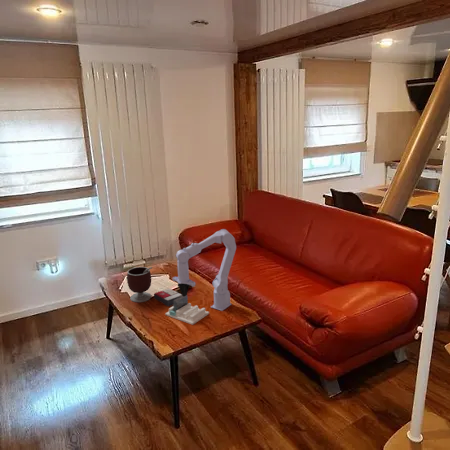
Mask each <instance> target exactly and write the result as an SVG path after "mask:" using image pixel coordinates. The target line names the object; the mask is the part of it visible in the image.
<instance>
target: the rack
mask: <svg viewBox="0 0 450 450" xmlns="http://www.w3.org/2000/svg"><path fill="white" fill-rule="evenodd" d="M209 314H210V311H206V307H202V308H199V306H198V305H197V304H196V305H194V306H193V305H192V303H190V302H189V303H188V304H187V305H185V306H183V307H182V308H180V309H178V310H177V311H176V313H175V312H174V309H173V305H171V306H170V307H169V308H168V311H167V312H165V313H164V315H165V316H168V317H170V318H172V319H175V320H179V321H181V322H184V323H187V324H189V325H192V326H193V325H195V324H196V323H197V322H199V321H200V320H202V319H203V318H205V317H206V316H208V315H209Z"/></svg>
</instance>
